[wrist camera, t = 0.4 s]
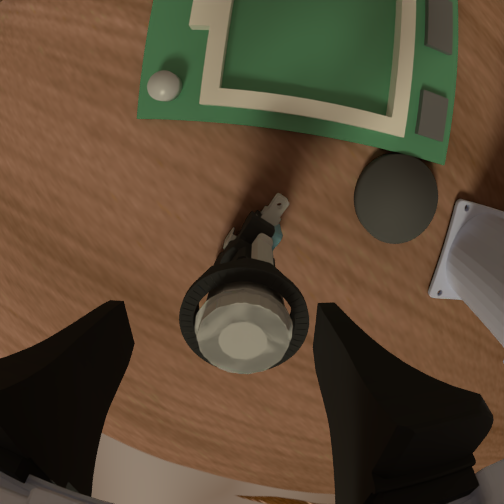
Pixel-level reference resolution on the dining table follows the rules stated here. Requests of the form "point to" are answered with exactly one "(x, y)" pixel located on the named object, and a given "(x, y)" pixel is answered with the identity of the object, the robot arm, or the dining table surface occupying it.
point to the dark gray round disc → (395, 198)
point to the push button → (246, 301)
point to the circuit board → (308, 68)
